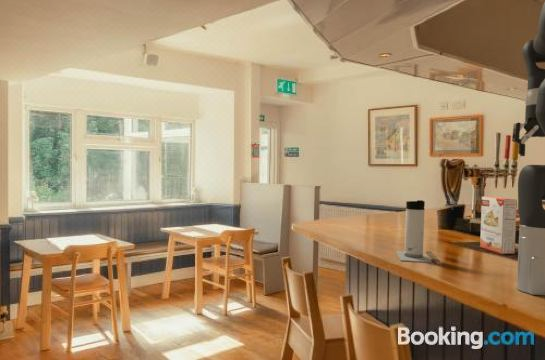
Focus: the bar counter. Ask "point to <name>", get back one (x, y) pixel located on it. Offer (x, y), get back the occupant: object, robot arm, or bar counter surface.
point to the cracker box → (498, 224)
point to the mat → (410, 259)
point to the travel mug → (414, 229)
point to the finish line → (434, 258)
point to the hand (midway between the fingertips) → (537, 156)
